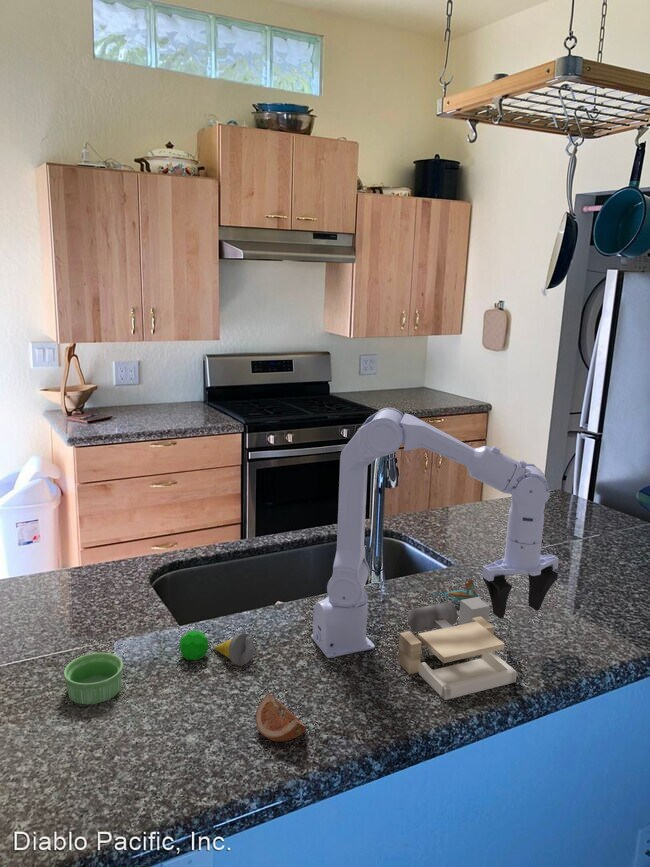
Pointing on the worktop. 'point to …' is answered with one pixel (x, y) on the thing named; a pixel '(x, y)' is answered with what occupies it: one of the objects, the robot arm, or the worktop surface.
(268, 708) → the fruit slice
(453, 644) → the trapdoor
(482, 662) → the tray
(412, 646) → the trapdoor posts
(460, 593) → the dragon figurine
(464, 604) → the grey rectangular block
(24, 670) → the worktop surface
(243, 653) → the ice cream cone
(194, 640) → the polyhedron
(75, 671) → the ramekin
